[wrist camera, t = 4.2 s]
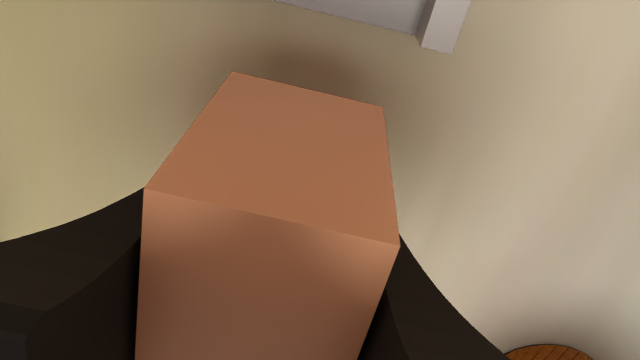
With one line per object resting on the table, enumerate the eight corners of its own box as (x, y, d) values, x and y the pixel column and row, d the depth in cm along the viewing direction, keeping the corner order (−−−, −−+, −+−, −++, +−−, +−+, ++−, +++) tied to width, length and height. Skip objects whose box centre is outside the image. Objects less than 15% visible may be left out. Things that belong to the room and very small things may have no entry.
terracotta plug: (330, 279, 16) (316, 464, 11) (207, 252, 16) (130, 427, 10) (383, 107, 13) (400, 245, 8) (231, 71, 13) (143, 188, 7)
